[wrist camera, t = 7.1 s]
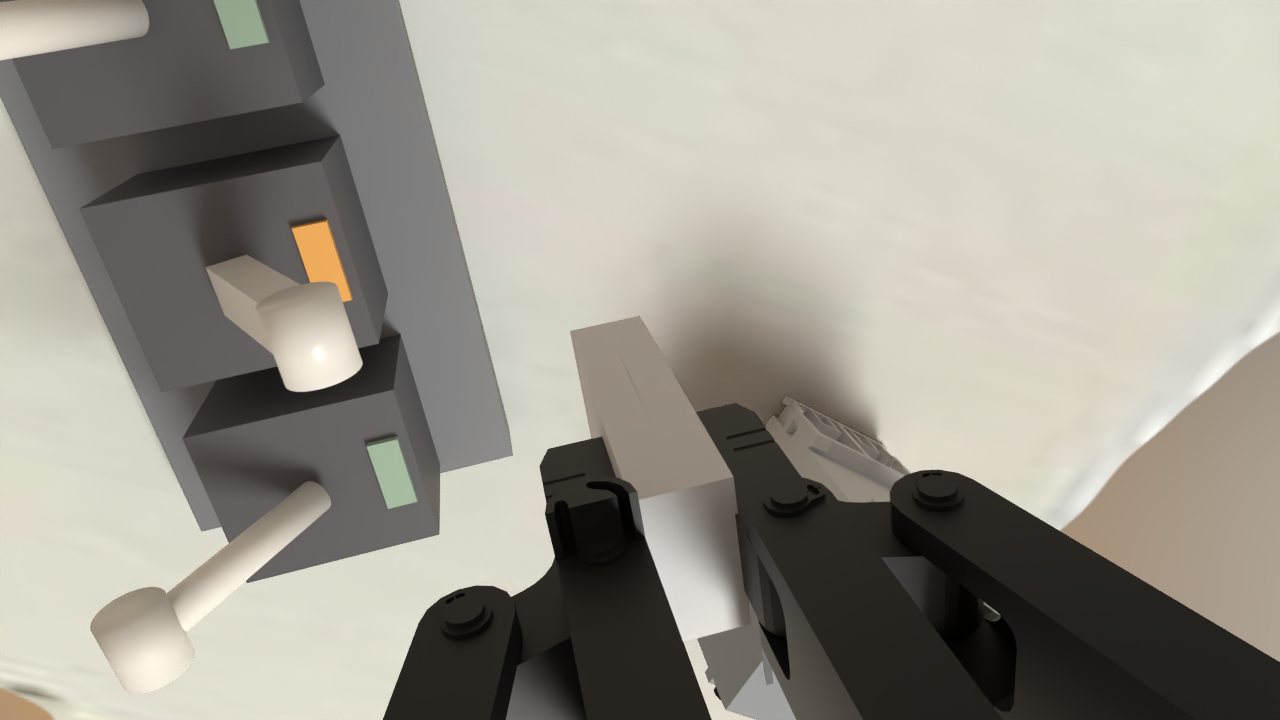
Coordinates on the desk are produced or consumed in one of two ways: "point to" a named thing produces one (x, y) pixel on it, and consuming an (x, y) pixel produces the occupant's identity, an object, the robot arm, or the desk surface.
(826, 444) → the circuit breaker
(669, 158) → the desk surface
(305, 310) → the handle
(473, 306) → the breaker board
